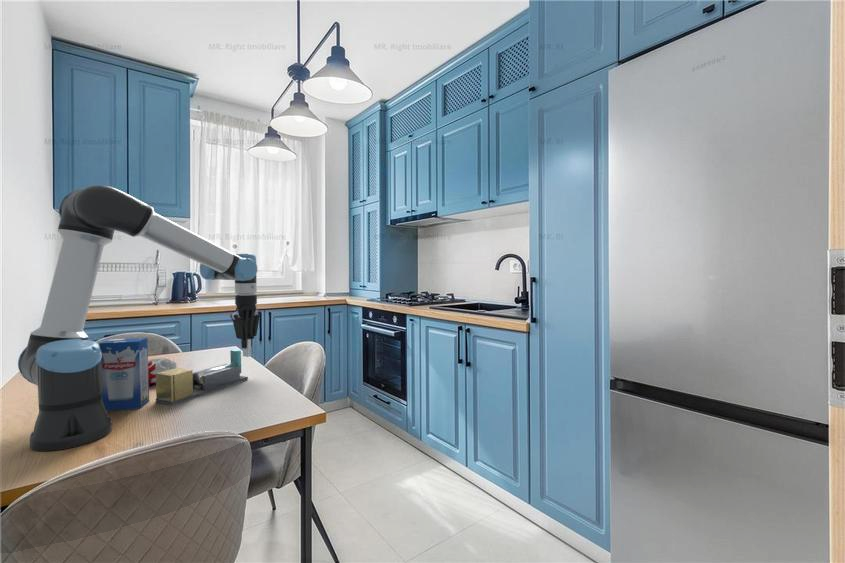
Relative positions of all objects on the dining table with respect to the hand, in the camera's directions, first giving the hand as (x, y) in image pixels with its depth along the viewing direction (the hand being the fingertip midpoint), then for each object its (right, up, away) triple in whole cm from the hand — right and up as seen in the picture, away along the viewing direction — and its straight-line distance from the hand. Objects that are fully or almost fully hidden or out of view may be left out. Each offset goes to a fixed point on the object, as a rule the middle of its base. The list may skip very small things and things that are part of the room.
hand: (247, 356), depth 149 cm
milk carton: (-22, -9, -31) cm, 40 cm away
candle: (-30, -8, -10) cm, 33 cm away
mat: (-6, -8, -15) cm, 18 cm away
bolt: (-5, -6, -11) cm, 13 cm away
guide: (-8, -8, -17) cm, 20 cm away
